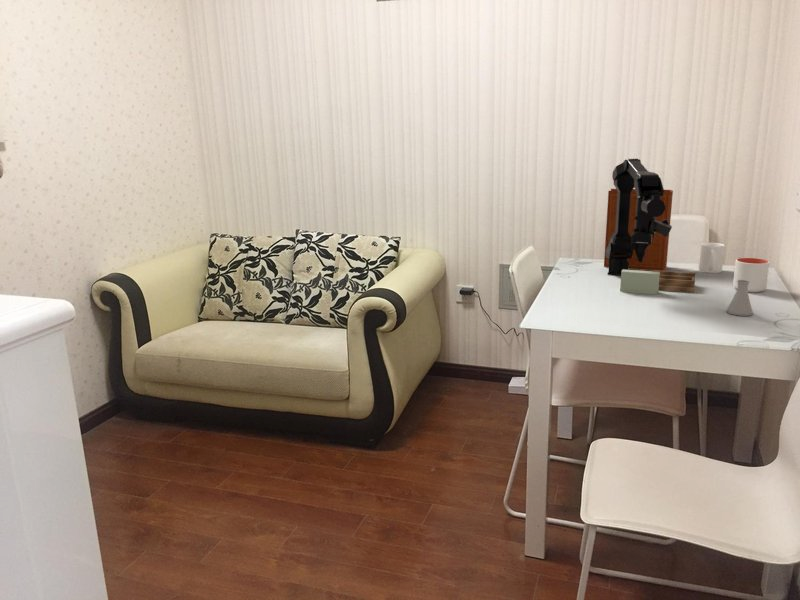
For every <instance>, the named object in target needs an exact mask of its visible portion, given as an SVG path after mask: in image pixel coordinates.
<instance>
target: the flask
mask: <svg viewBox="0 0 800 600" xmlns="http://www.w3.org/2000/svg"><path fill="white" fill-rule="evenodd" d="M737 282H738V288H737V289H736V291H735V294H734V295H733V298H732V300H731V301H730V303H729V306H727V308H726V312H727V314H729V315H734V316H739V317H741V316H742V317H743V316H744V317H751V316H752V315H754V312H753V308H752V305H751V301H750V298H749V297H750V296H749V292H748V284H749V281H748V280H737Z"/></svg>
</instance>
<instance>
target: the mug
mask: <svg viewBox="0 0 800 600" xmlns="http://www.w3.org/2000/svg"><path fill="white" fill-rule="evenodd" d="M699 247H700V248H699V258H698V271H699V272H700V273H705V274H720V273H721V272H722V271H723V264H724V257H725V256H724V255H725V247H726V245H725V244H724V243H720V242H719V243H718V242H702V243H700V246H699Z"/></svg>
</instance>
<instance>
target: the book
mask: <svg viewBox="0 0 800 600" xmlns="http://www.w3.org/2000/svg"><path fill="white" fill-rule="evenodd" d="M673 193H674V190H672V189H664V192H663V196H660V200H662V201H663V202H664V204H665V211H664V213H663V214H662V215H660V216H658V217H655V220H657V221H660V222H662V221H663V220H664V219H665V220H668V221H669V225H671V219H672V218H671V217H672V206H673ZM607 194H608V196H607V208H606V209H607V210H606V211H607V213H606V223H605V224H606V227H605V243H604V257H603V268H609V259H608V258H607V257H606V249H607V247H608V244H609V243H610V238H611V236H612V235H613V233H614V232H615V227H616V211H617V194H618V191H617V189H616V188H610V190H608V193H607ZM636 206H637V194H636V191H635V188H633V190H632V191H631V198H630V213H629V228H628V232H629V234H630V236H631V235H632V234H633V233H634V228H635V220H636V219H635V216H636ZM652 235H653V234H652ZM669 239H670V233H669V234H668V236H667V237H666V236H663V235H662V234H660V233H657V232H655V235H654V237H653V238H652V242H651V244H650V245H648V246H647V250H646V253H645V256H644V257H643V261H642V262H639V261H638V259H637V256H636V253H635V250H634V249H633V254H632V258H631V259H630V258H627V261H628V262H629V267H628V270H641V269H645V270H660V271H667V265H668V255H669V254H668V252H669V242H670V241H669ZM611 255H612V254H611Z"/></svg>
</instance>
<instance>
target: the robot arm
mask: <svg viewBox="0 0 800 600" xmlns="http://www.w3.org/2000/svg"><path fill="white" fill-rule="evenodd" d="M641 161H642V160H641V159H640V158H627V159H624V160H623V162H621V163H619V164H618V165H616V166H615V168H614V169H613V171H612V173H611V175H612V181H613V185H614V189H617V191H618V194H617V211H616V227H615V232H614V233H613V235H612V236H611V238H610V243H609V244H608V247H607V249H606V257H607V258H608V259H609V267H608V272H607V275H611V276H621V271H622V270H629V269H628V267H629V262H628V261H627V258H630V259H631V258H632V254H633V249H634V250H635V253H636V256H637V259H638V261H639V262H642V261H643V257H644V256H645V253H646V250H647V246H648V245H650V244H651V242H652V238H653V237H654V235H655V232H657V233H660V234H662V235H663V236H666V237H667V236H668V234H669V235H670V232H671V230H672V228H673V226H672V225H671V224H670V225H669V221H668V220H665V219H664V220H663V221H662V222H660V221H657V220H655V217H658V216H660V215H662V214H663V213H664V211H665V204H664V202H663V201H662V200H660V196H663V192H664V190H665V188H664V185H663V182H662V179H661V177H660V176H659V174H658V173H656V172H652V171H649V170H647V168H646V167H645V166H644V165H643V163H642V162H641ZM633 189H635V191H636V194H637V206H636V216H635V219H636V220H635V228H634V233H633V234H632V235H631V236H630V234H629V232H628V228H629V213H630V198H631V191H632V190H633ZM652 234H653V235H652ZM611 254H612V255H611Z"/></svg>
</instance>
